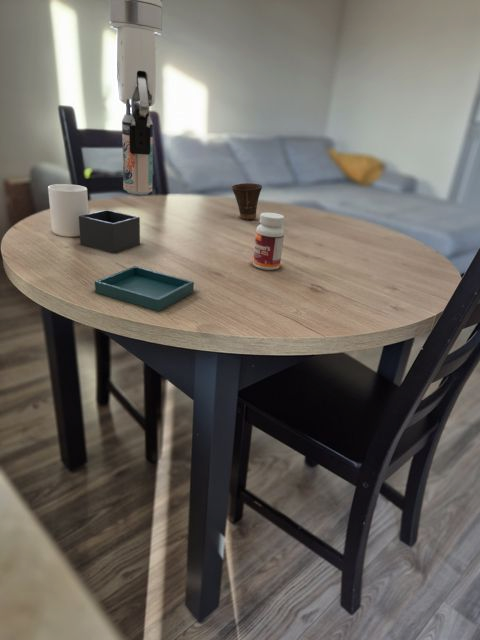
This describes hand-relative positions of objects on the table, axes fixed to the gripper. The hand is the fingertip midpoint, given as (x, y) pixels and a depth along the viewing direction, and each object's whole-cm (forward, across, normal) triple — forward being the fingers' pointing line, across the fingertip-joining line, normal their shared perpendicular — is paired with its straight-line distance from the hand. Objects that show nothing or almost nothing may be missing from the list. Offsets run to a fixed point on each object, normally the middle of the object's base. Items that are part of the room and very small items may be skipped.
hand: (137, 150), depth 79 cm
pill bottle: (+23, -8, +29) cm, 38 cm away
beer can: (+7, 0, 0) cm, 7 cm away
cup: (+23, -52, +40) cm, 69 cm away
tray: (+23, +5, +1) cm, 24 cm away
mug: (+23, -36, -11) cm, 44 cm away
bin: (+23, -25, -2) cm, 34 cm away
